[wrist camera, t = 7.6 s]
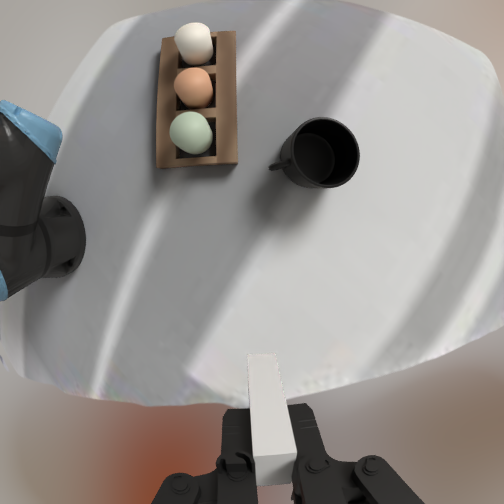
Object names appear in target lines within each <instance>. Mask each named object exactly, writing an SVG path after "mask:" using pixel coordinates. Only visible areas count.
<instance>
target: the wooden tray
mask: <svg viewBox="0 0 504 504" xmlns="http://www.w3.org/2000/svg"><path fill="white" fill-rule="evenodd" d="M210 35H211V40H212V45H216V65H211V66H199V67H190V68H201V69H203V70H205V71H206V72H207V73H208V75H209V77H210V81H213V80H216V108H204V109H192V110H182V111H180V97H179V96H178V94H177V93H176V91H175V89H174V82H175V79H176V77H177V76H178V75H179V73H181V72H182V71H184V70H185V69H188V68H182V56H181V54H180V52H179V49H178V47H177V45H176V43H175V40H174V37H175V36H173V37H167V38H162V46H161V55H160V66H159V79H158V95H157V120H156V168H160V169H166V168H177V167H190V166H204V165H223V164H238V152H237V101H236V31H221V32H210ZM185 112H197V113H199V114H201V115H202V116H203V117H204V118H205V119H206V121H207V122H216V156H210V157H195V158H182V159H180V148H179V147H178V146H176V145H175V144H174V143H173V141H172V140H171V138H170V126H171V124H172V122H173V120H174V119H175V118H176V117H177V116H179V115H180V114H182V113H185Z"/></svg>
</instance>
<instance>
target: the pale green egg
mask: <svg viewBox="0 0 504 504" xmlns="http://www.w3.org/2000/svg"><path fill="white" fill-rule="evenodd" d="M170 138H171V140H172V141H173V143H174V144H175V145H176V146H178V147H179V148H181V149H182V150H184V151H185V152H187V153H189V154H194V155H196V154H201V153H203V152H205V151H206V150H207V149H208V148H209V147H210V146H211V144H212V141H213V133H212V131H211V129H210V127H209V125H208V123H207V121H206V119H205V118H204V117H203V116H202V115H201V114H199V113H197V112H185V113H182V114H180V115H179V116H177V117H176V118H175V119H174V120H173V122H172V124H171V126H170Z"/></svg>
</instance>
